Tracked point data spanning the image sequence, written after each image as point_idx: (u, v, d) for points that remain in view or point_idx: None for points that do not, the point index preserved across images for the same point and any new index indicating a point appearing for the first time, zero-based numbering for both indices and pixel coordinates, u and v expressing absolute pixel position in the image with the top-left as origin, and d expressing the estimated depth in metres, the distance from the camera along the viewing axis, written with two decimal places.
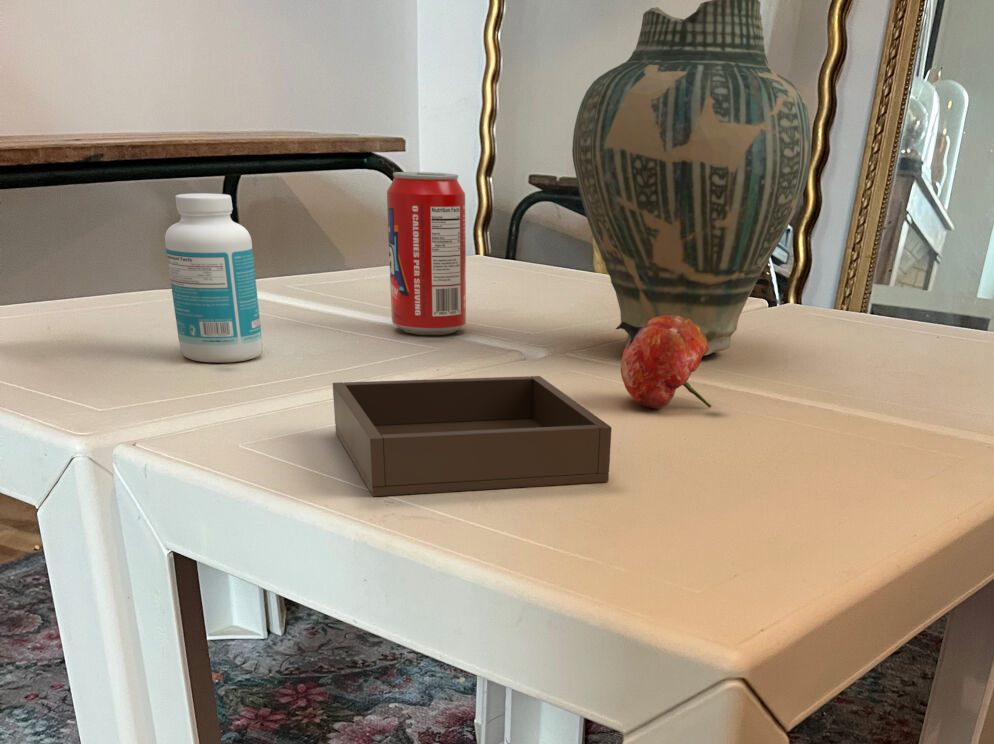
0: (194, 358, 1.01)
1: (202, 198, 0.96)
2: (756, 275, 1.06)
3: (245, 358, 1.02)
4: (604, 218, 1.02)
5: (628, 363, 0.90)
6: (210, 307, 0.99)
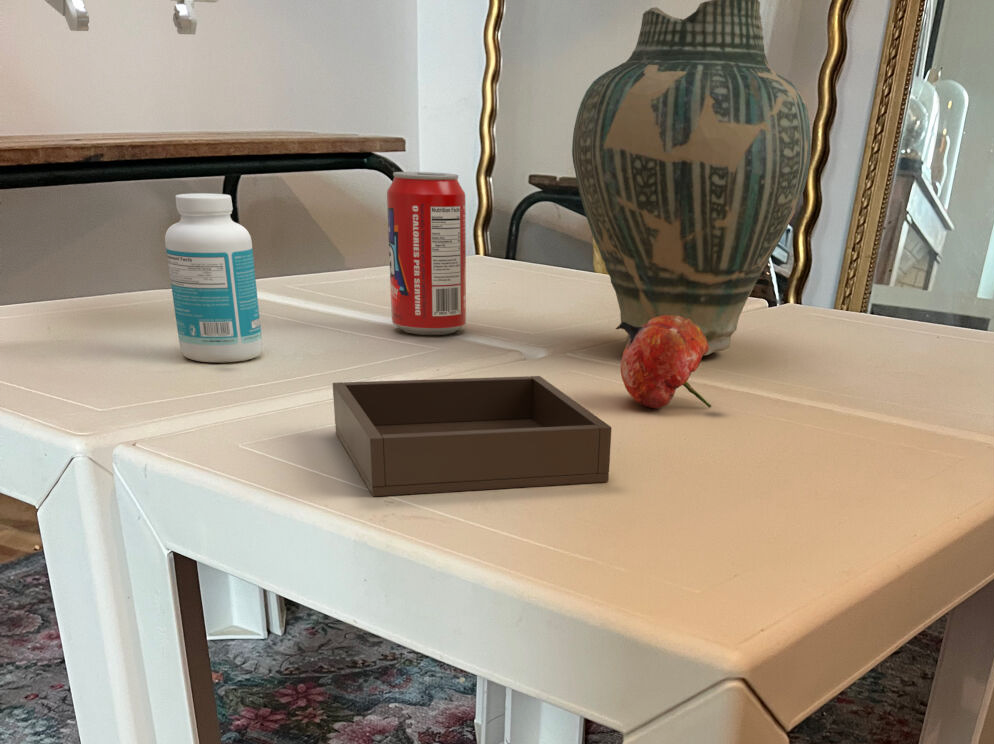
0: (194, 358, 1.01)
1: (202, 198, 0.96)
2: (756, 275, 1.06)
3: (245, 358, 1.02)
4: (603, 218, 1.02)
5: (628, 363, 0.90)
6: (210, 307, 0.99)
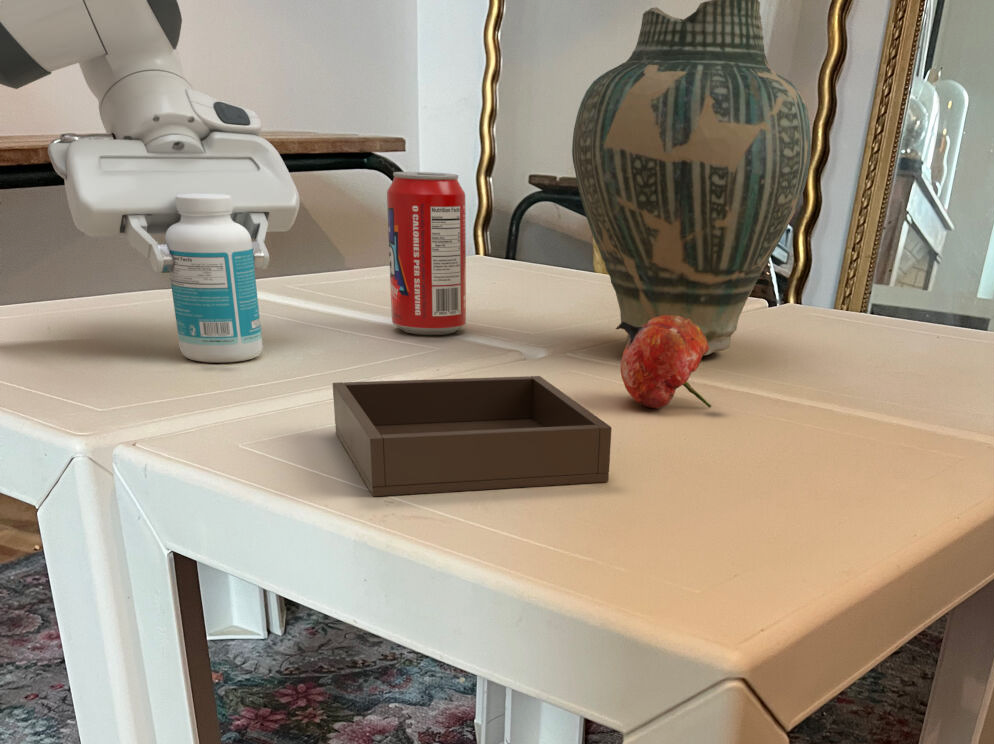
0: (194, 358, 1.01)
1: (202, 198, 0.96)
2: (756, 275, 1.06)
3: (245, 358, 1.02)
4: (603, 218, 1.02)
5: (628, 363, 0.90)
6: (210, 307, 0.99)
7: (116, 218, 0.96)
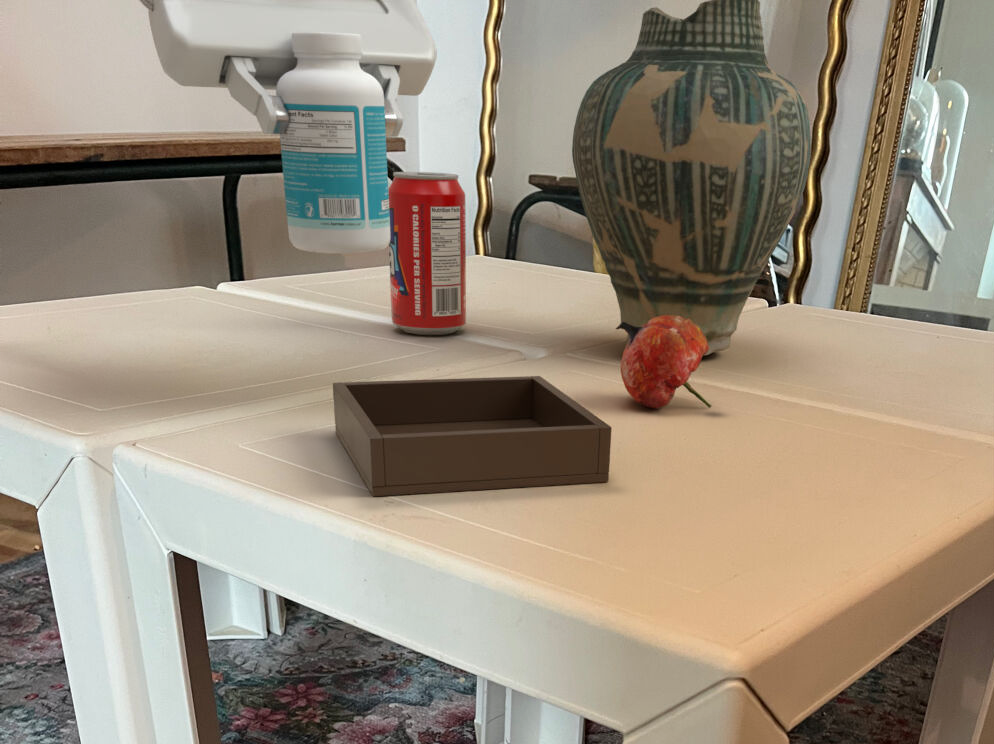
0: (309, 247, 0.80)
1: (328, 33, 0.74)
2: (756, 275, 1.06)
3: (372, 249, 0.81)
4: (603, 218, 1.02)
5: (628, 363, 0.90)
6: (333, 179, 0.77)
7: (217, 61, 0.75)
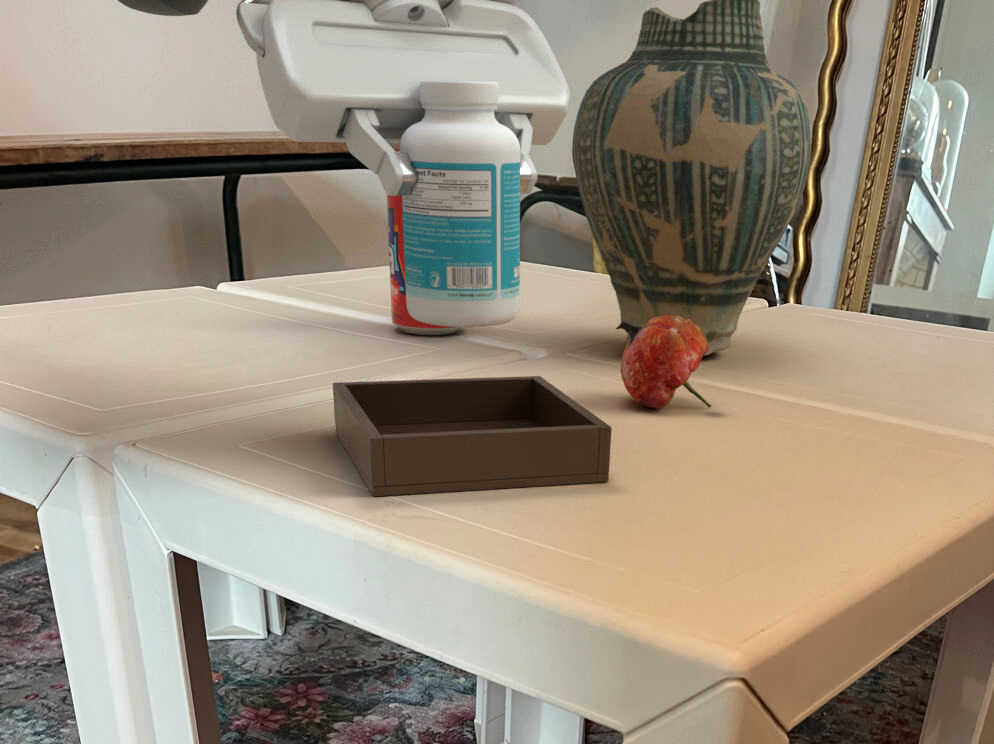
0: (433, 321, 0.71)
1: (465, 82, 0.65)
2: (756, 275, 1.06)
3: (502, 321, 0.72)
4: (603, 218, 1.02)
5: (628, 363, 0.90)
6: (464, 246, 0.68)
7: (337, 113, 0.66)
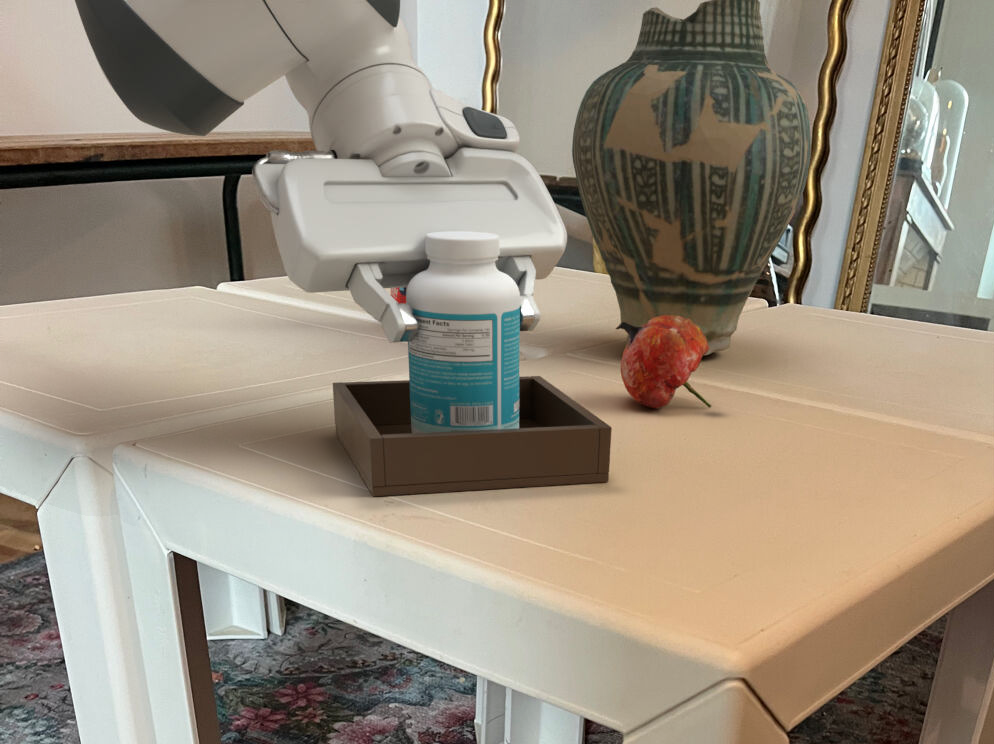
0: None
1: (468, 240, 0.69)
2: (756, 275, 1.06)
3: None
4: (603, 218, 1.02)
5: (628, 363, 0.90)
6: (467, 387, 0.72)
7: (347, 268, 0.70)
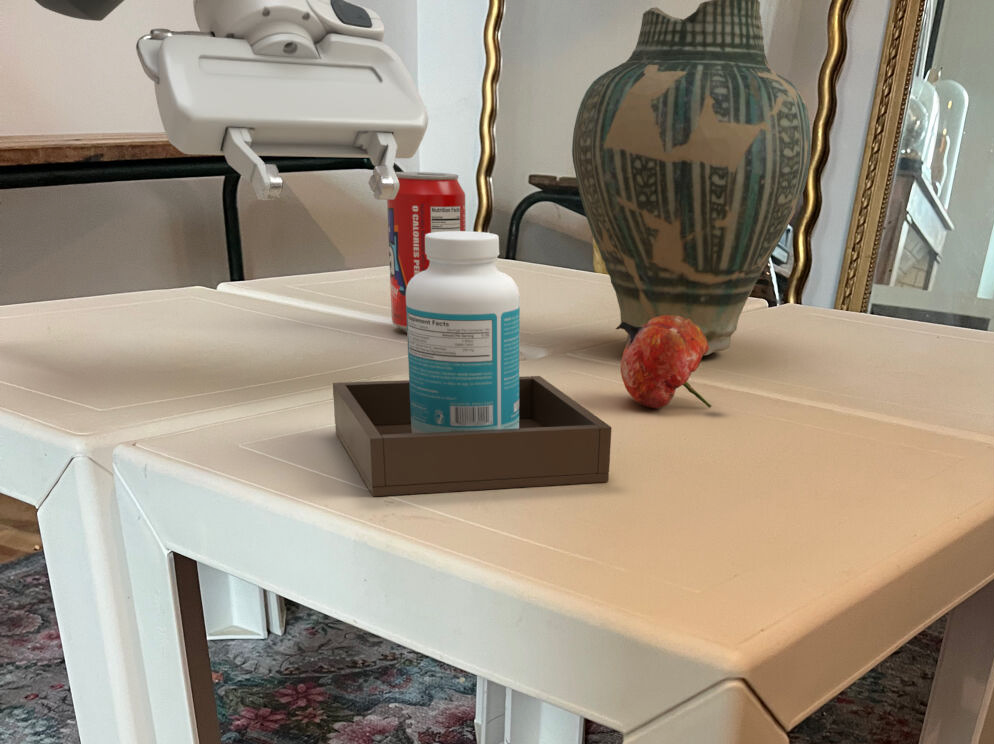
0: None
1: (467, 240, 0.69)
2: (756, 275, 1.06)
3: None
4: (603, 218, 1.02)
5: (628, 363, 0.90)
6: (467, 388, 0.72)
7: (219, 131, 0.79)
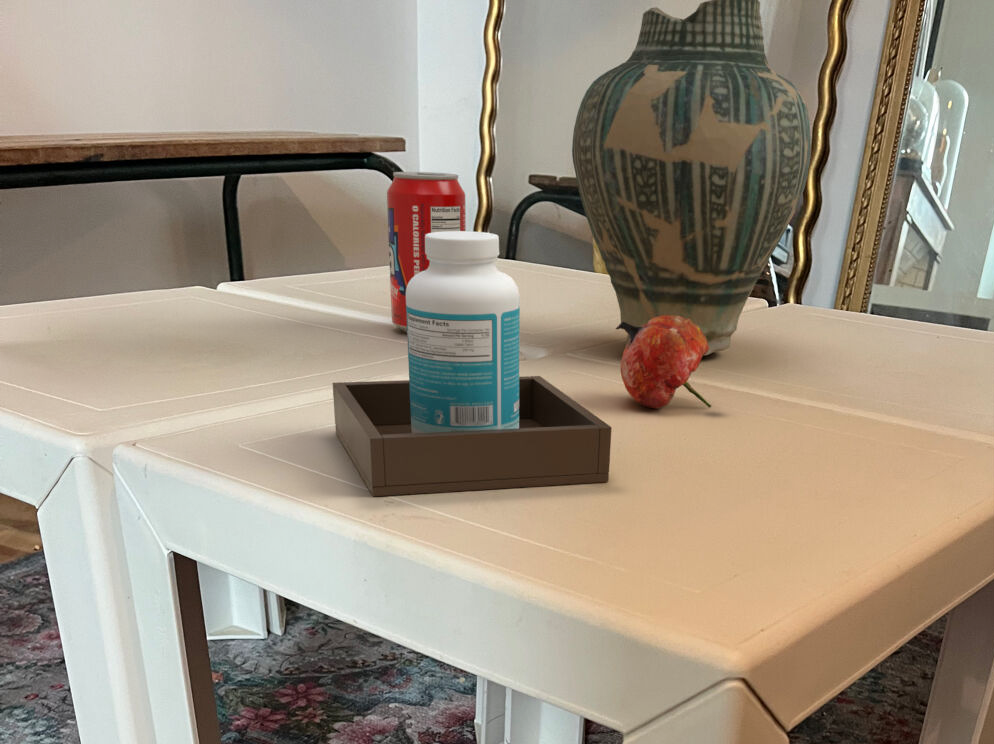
0: None
1: (467, 240, 0.69)
2: (756, 275, 1.06)
3: None
4: (603, 218, 1.02)
5: (628, 363, 0.90)
6: (467, 388, 0.72)
7: None
